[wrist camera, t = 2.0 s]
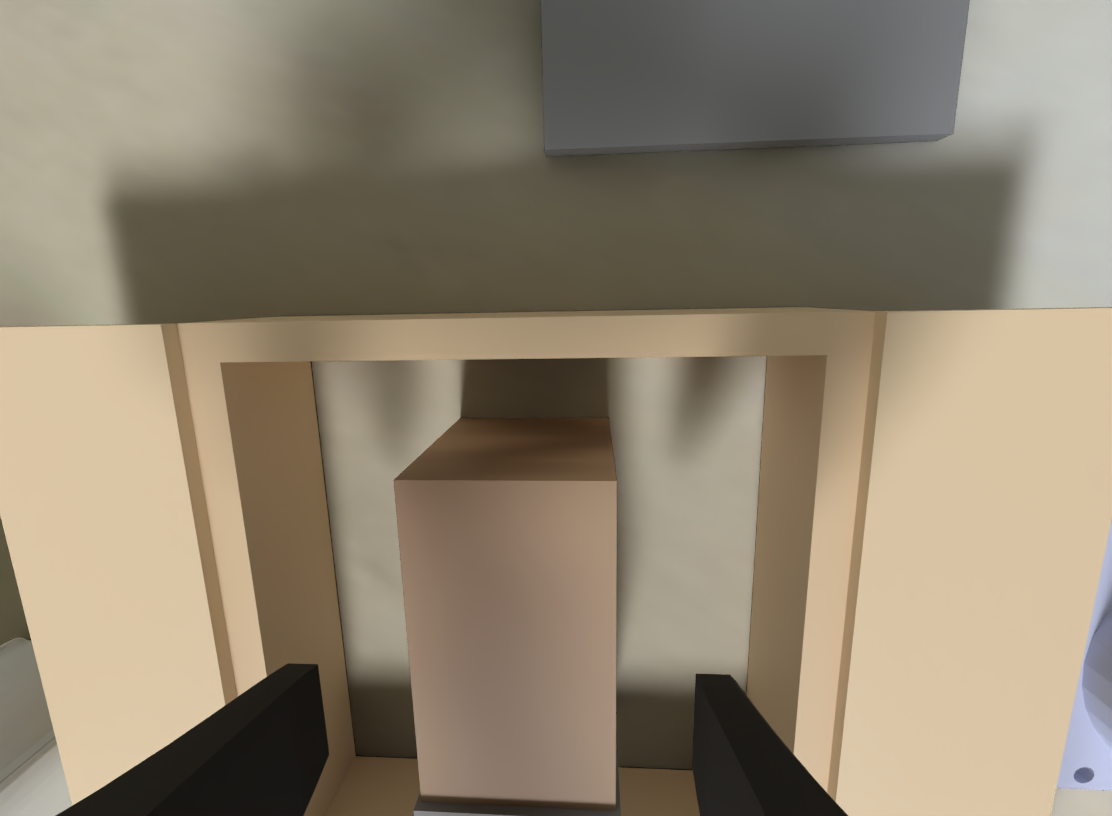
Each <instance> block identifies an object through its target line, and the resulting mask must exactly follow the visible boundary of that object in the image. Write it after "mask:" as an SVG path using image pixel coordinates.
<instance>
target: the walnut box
mask: <svg viewBox="0 0 1112 816" xmlns="http://www.w3.org/2000/svg"><path fill="white" fill-rule="evenodd" d="M394 491H395V502H396V514H397V526H398V537H399V549H400V560H401V572H402V584H403V595H404V607H405V618H406V630H407V642H408V653H409V665H410V676H411V688H412V700H413V711H414V723H415V734H416V746H417V758H418V769H419V781H420V793H419V796H418V799H417V802H416V805H415V808H414V811H413V812H414V816H621V809H620V790H619V771H618V753H617V734H616V569H617V479H616V471H615V463H614V455H613V448H612V440H611V432H610V424H609V417H600V418H460V419H459V420H458V421H457V422H456V423H455V424H454V425H452V426H451V427H450V428H449V429H448V430H447V431H446V432H445V433H444V434H443V435H442V436H441V437H440V438H438V439H437V440H436V441H435V442H434V443H433V444H432V445H431V446H430V447H429V448H428V449H427V450H426V451H424V452H423V453H422V454H421V455H420V456H419V457H418V458H417V459H416V460H415V461H414V462H413V463H412V464H411V465H409V466H408V467H407V468H406V469H405V470H404V471H403V472H402V473H401V474H400V475H399V476H398V477H397V478H395V479H394Z"/></svg>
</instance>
